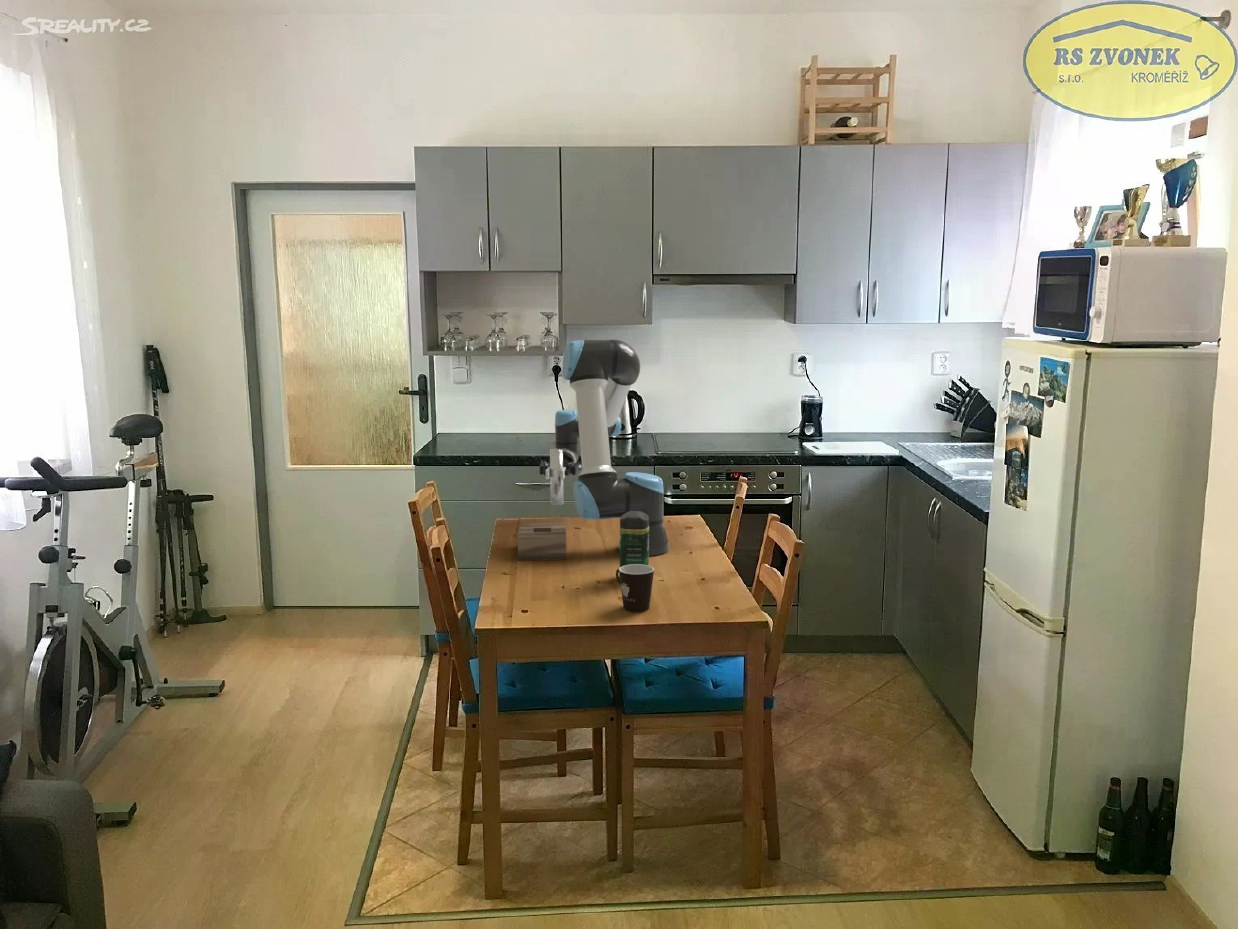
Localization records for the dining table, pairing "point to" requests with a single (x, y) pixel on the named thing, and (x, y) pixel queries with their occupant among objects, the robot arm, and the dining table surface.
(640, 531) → the coffee jar
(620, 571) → the coffee mug
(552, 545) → the socket block
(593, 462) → the robot arm
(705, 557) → the dining table surface
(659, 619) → the dining table surface
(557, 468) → the steel pin
